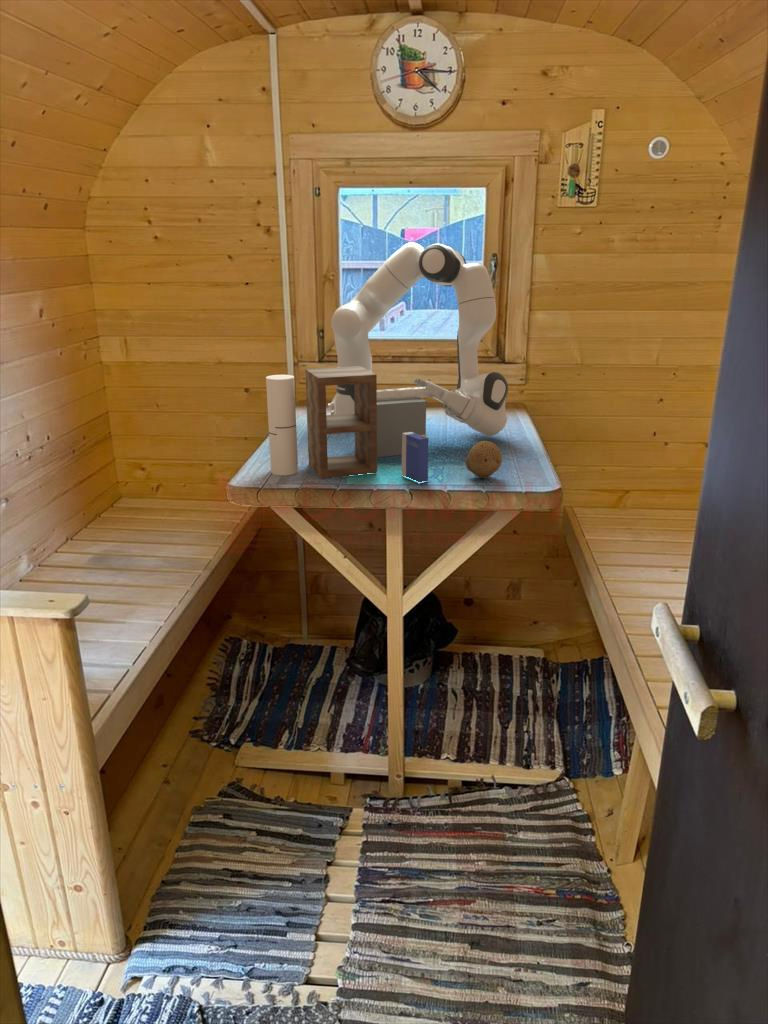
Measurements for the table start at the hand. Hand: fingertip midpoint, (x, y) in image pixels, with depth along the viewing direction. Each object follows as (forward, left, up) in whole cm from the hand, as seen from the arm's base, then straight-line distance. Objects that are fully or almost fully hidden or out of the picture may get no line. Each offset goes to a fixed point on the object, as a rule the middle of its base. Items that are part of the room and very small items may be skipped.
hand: (420, 383), depth 218 cm
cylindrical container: (+11, -43, -19) cm, 48 cm away
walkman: (+29, -13, -19) cm, 37 cm away
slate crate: (0, -9, -19) cm, 21 cm away
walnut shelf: (+14, -28, -19) cm, 36 cm away
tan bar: (0, -7, -4) cm, 8 cm away
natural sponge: (+34, +4, -19) cm, 39 cm away
